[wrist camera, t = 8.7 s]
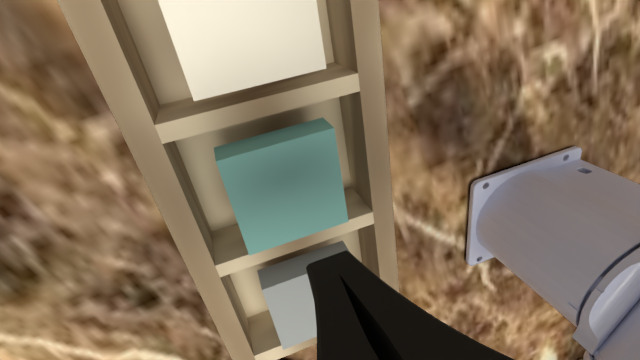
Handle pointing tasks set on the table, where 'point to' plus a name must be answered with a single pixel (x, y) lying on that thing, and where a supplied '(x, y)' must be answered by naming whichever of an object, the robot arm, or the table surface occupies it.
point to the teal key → (284, 184)
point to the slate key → (293, 295)
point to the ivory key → (243, 42)
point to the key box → (237, 124)
